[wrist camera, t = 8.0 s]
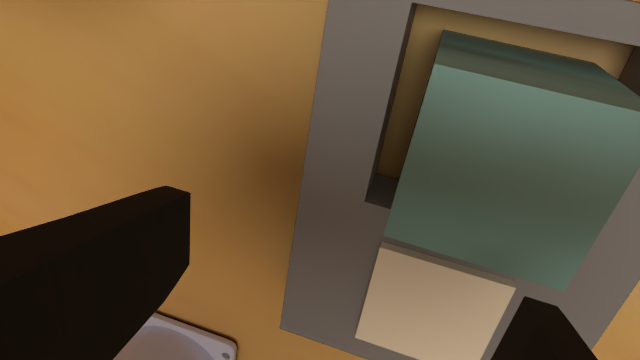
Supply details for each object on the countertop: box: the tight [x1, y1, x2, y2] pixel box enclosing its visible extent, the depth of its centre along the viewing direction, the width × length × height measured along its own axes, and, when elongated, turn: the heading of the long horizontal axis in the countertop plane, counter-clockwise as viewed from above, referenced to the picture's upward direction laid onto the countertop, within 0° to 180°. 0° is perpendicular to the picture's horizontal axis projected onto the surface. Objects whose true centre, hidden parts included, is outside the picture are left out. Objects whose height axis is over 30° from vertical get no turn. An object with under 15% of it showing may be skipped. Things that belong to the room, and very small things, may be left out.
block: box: [383, 30, 640, 292], centre depth 13 cm, size 5×5×6 cm
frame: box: [280, 0, 640, 360], centre depth 16 cm, size 16×12×3 cm
